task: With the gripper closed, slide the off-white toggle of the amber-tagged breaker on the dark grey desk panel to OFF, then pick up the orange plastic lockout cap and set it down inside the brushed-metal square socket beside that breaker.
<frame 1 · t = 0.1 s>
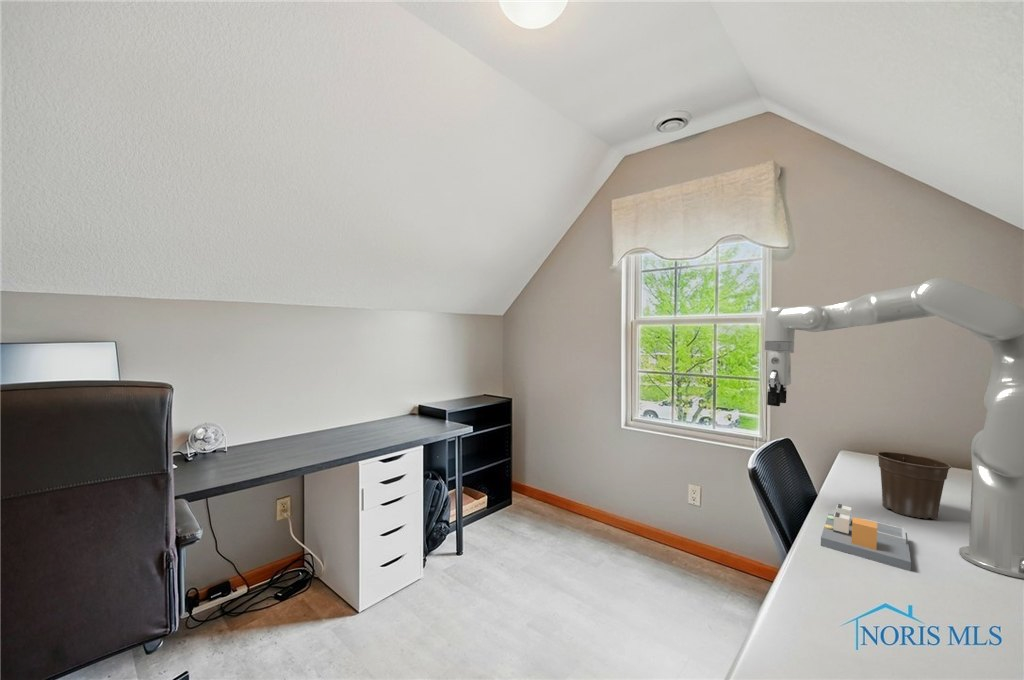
hand: (776, 404, 126), 31 cm above the table, tool pointing down, fingers open, 9 cm apart
plant pot: (910, 512, 126), on the table
lockout cap: (863, 543, 100), point 2 cm above the table, touching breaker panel
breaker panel: (864, 542, 105), on the table
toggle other: (843, 513, 112), point 4 cm above the table, slide at 0.0 cm
toggle tagged: (841, 522, 106), point 4 cm above the table, slide at 0.0 cm
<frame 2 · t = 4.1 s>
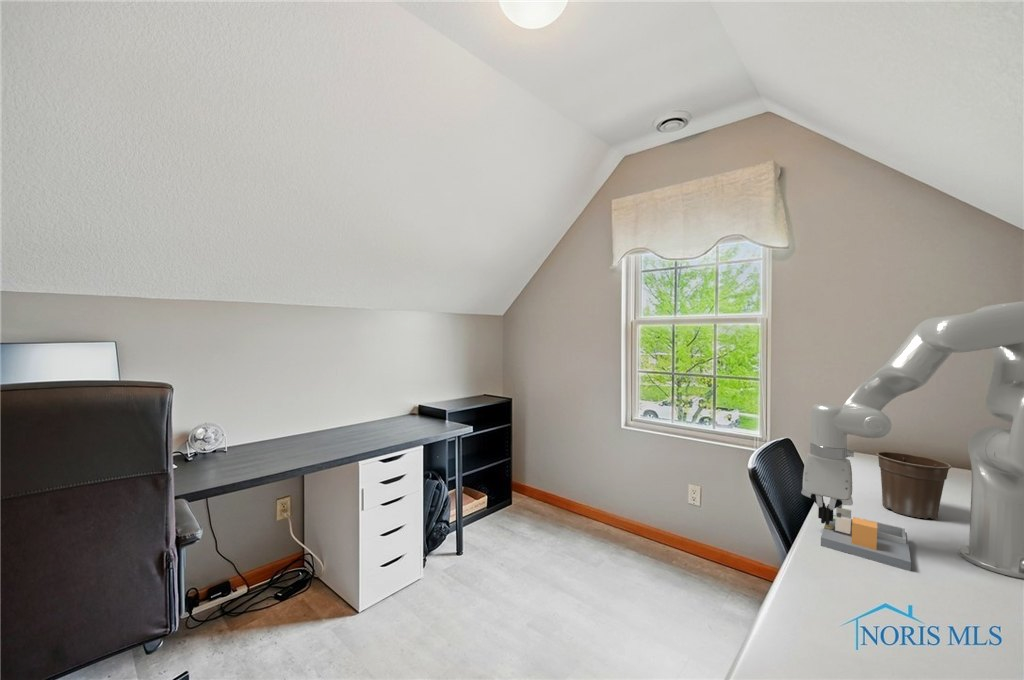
hand: (825, 522, 108), 3 cm above the table, tool pointing down, fingers closed
toggle tagged: (843, 523, 106), point 4 cm above the table, slide at 0.3 cm, touching gripper
everything else where it was.
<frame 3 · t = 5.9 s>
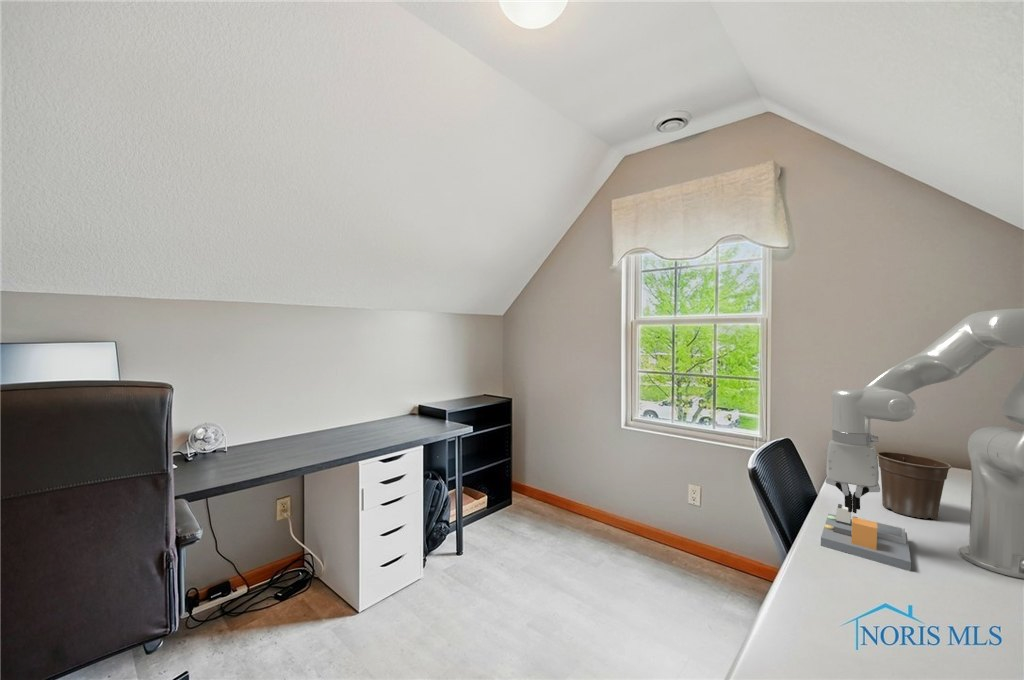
hand: (852, 510, 105), 8 cm above the table, tool pointing down, fingers closed
toggle tagged: (859, 527, 104), point 4 cm above the table, slide at 3.5 cm
everything else where it was.
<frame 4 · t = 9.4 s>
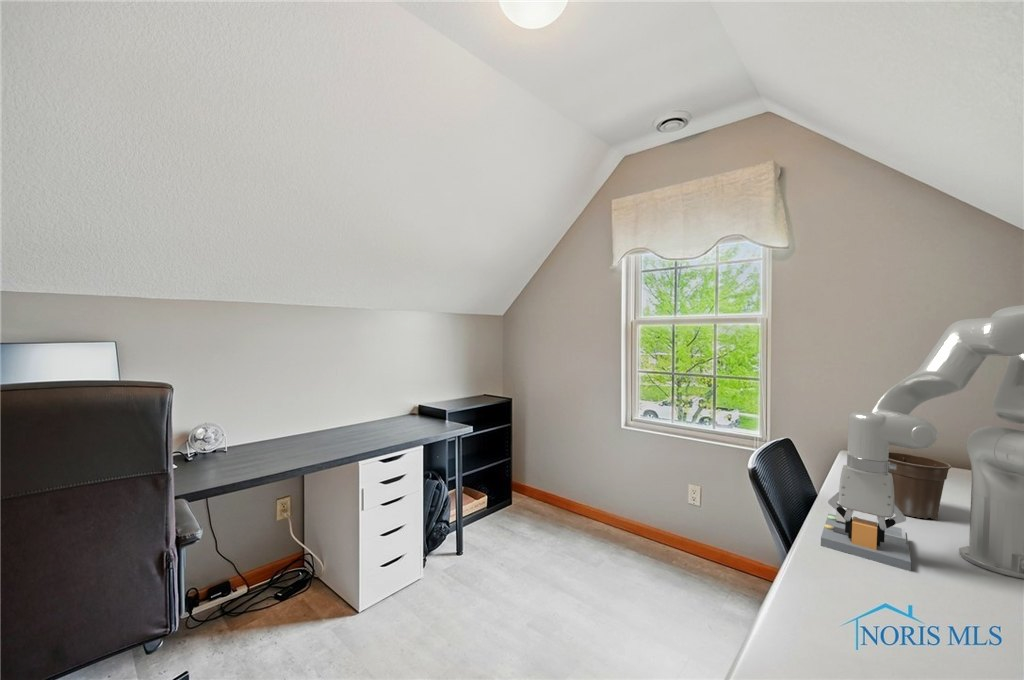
hand: (864, 539, 100), 3 cm above the table, tool pointing down, fingers closed on lockout cap, 4 cm apart
lockout cap: (863, 543, 100), point 2 cm above the table, touching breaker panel, gripper
everything else where it was.
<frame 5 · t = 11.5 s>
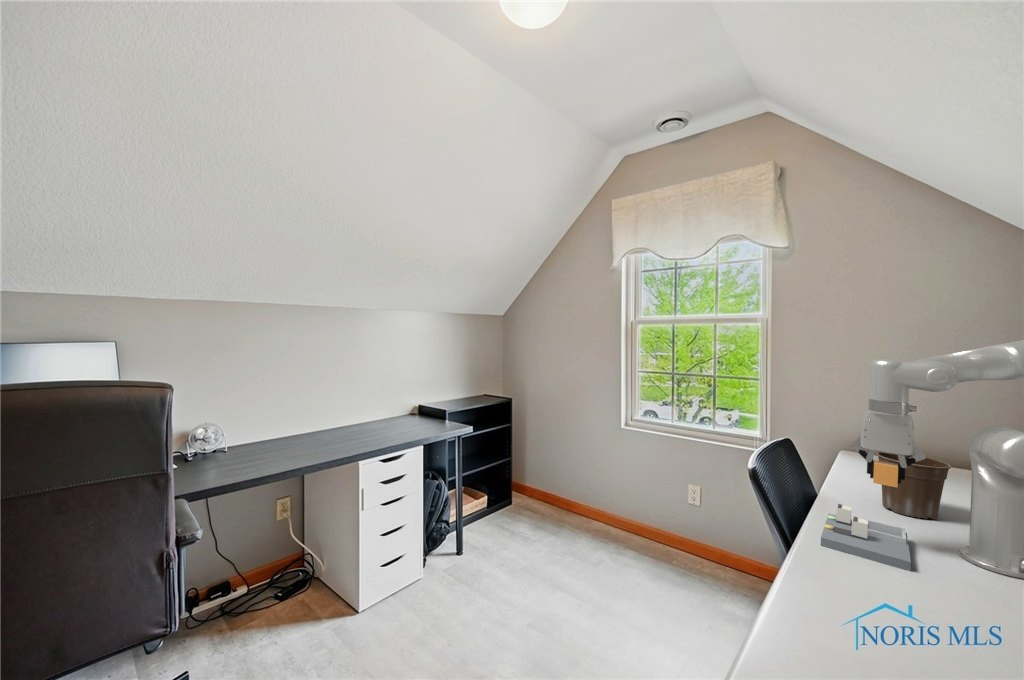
hand: (885, 478, 106), 16 cm above the table, tool pointing down, fingers closed on lockout cap, 4 cm apart
lockout cap: (885, 483, 106), point 15 cm above the table, touching gripper
everything else where it was.
when the fingers open (5 cm above the table, at t = 13.8 s): lockout cap drops 1 cm, resting on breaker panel.
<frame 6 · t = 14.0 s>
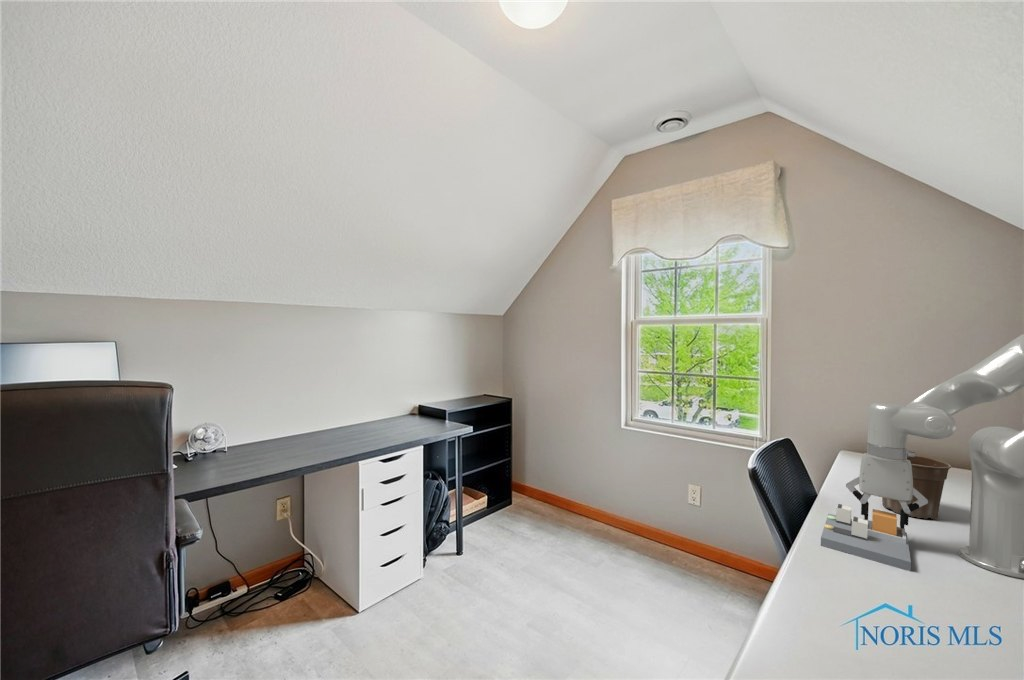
hand: (883, 522, 106), 5 cm above the table, tool pointing down, fingers open, 6 cm apart
lockout cap: (883, 533, 106), point 2 cm above the table, touching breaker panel
everything else where it was.
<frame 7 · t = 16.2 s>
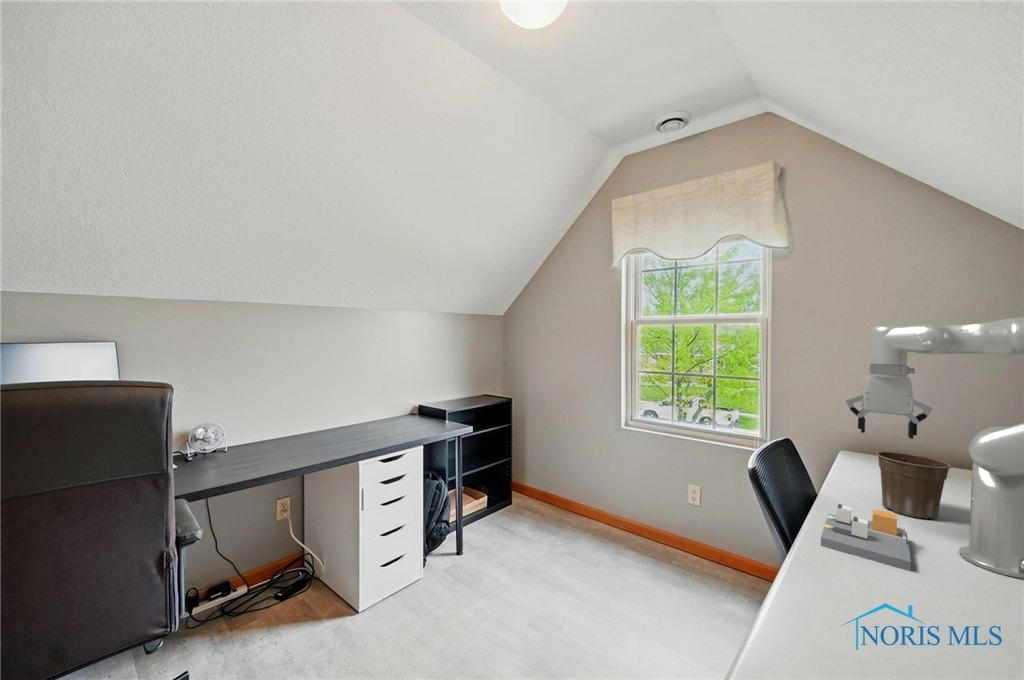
hand: (886, 434, 112), 26 cm above the table, tool pointing down, fingers open, 9 cm apart
nothing on the table moved.
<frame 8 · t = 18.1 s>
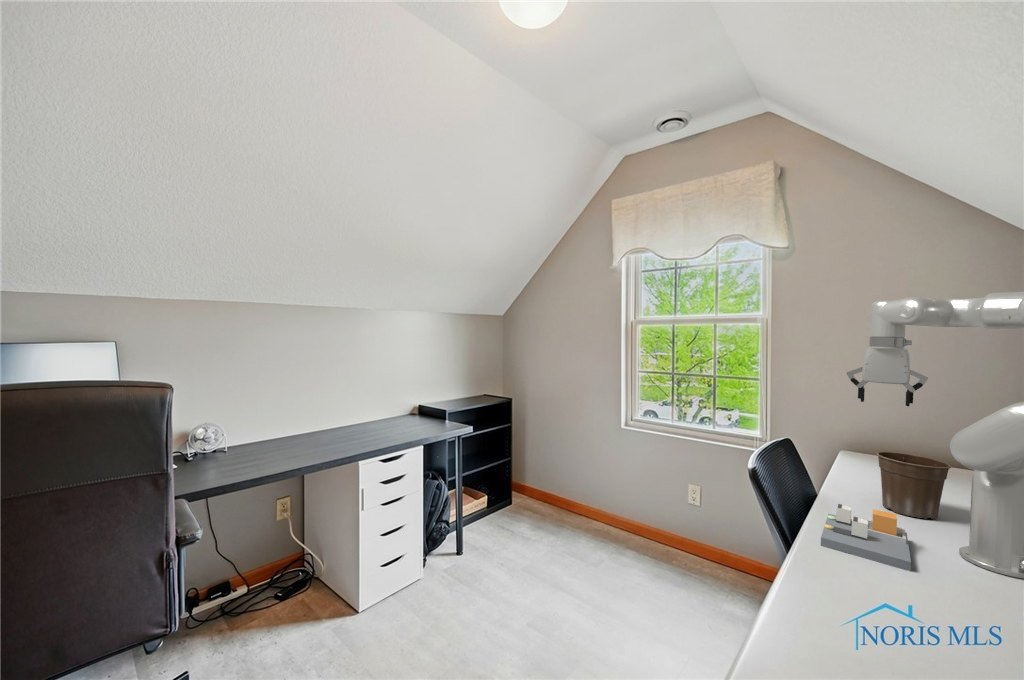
hand: (884, 403, 119), 33 cm above the table, tool pointing down, fingers open, 9 cm apart
nothing on the table moved.
at the end: toggle tagged slide at 3.5 cm; lockout cap 0.4 cm from the target spot, point 2.0 cm above the table; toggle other slide at 0.0 cm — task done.
